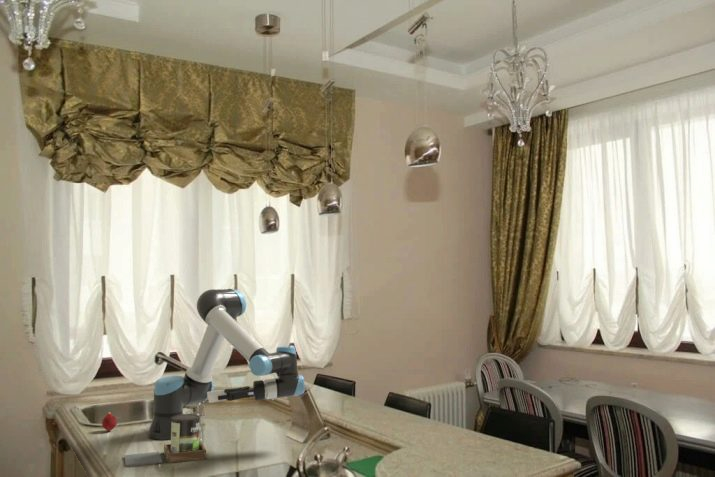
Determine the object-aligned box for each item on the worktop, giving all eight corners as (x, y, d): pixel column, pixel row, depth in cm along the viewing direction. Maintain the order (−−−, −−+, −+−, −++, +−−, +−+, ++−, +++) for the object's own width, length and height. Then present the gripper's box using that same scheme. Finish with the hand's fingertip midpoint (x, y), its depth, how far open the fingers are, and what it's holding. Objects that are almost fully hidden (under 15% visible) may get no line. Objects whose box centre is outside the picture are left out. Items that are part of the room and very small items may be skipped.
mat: (124, 457, 221) (124, 455, 221) (158, 453, 226) (158, 451, 226) (126, 467, 210) (126, 464, 210) (162, 463, 215) (162, 460, 215)
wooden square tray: (163, 452, 227) (164, 444, 227) (200, 449, 232) (200, 441, 232) (168, 462, 215) (168, 454, 215) (206, 458, 220) (206, 450, 220)
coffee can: (203, 452, 227) (204, 414, 228) (191, 461, 217) (192, 421, 218) (178, 451, 230) (179, 413, 230) (164, 459, 219) (165, 419, 220)
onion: (118, 429, 260) (119, 410, 260) (113, 433, 254) (114, 413, 254) (104, 429, 259) (105, 410, 260) (99, 433, 254) (100, 413, 254)
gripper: (269, 403, 222) (209, 411, 216) (261, 396, 245) (207, 403, 240) (267, 382, 223) (208, 389, 217) (259, 377, 246) (206, 384, 241)
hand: (207, 397), depth 228 cm, fingers open, 13 cm apart
